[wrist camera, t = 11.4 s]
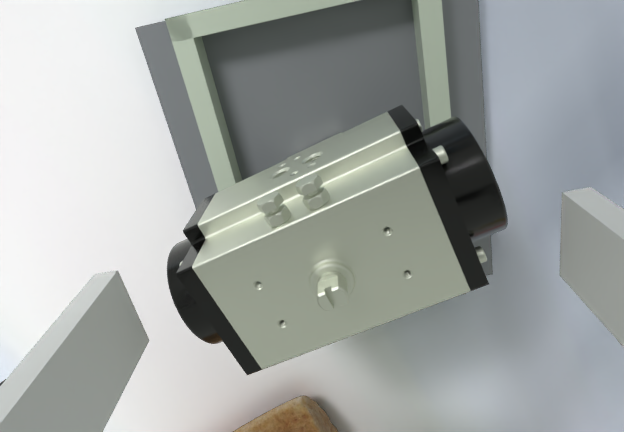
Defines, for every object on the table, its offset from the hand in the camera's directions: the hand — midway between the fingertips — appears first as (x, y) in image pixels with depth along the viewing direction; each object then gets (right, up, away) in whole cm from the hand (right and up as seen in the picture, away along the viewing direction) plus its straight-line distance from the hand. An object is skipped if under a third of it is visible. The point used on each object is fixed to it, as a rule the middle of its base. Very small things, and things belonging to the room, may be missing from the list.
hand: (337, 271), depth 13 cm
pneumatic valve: (0, +5, +11) cm, 12 cm away
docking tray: (0, +5, +12) cm, 13 cm away
